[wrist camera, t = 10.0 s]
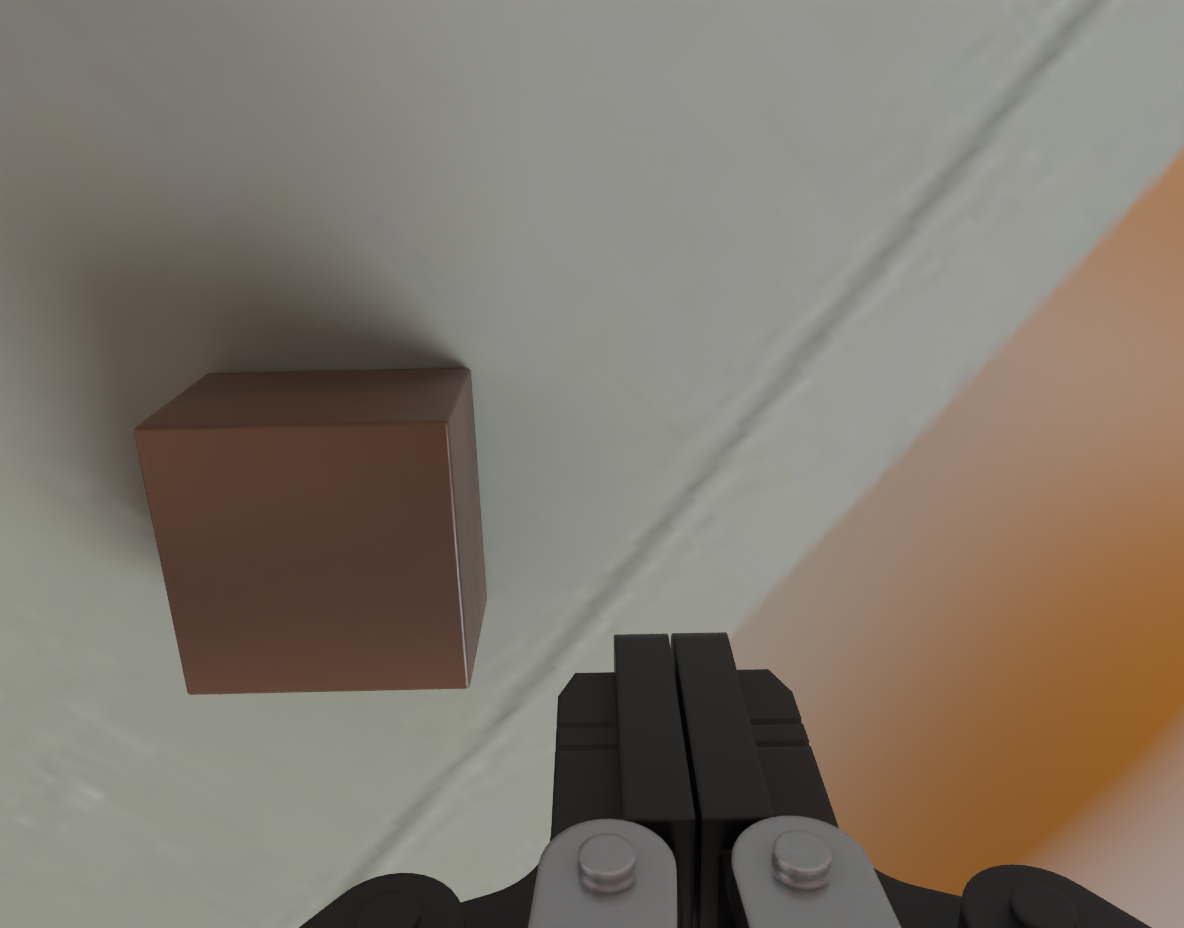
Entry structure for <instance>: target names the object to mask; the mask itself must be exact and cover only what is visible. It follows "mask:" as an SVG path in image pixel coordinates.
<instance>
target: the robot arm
mask: <svg viewBox="0 0 1184 928" xmlns="http://www.w3.org/2000/svg"><path fill="white" fill-rule="evenodd" d="M299 928H1151V927H1149V926H1148V925H1146V924H1144V923H1143V922H1141V921H1139V920H1137V919H1136V918H1134V917H1133V916H1131V915H1129V914H1128V913H1126V912H1124V911H1123V910H1121V909H1119V908H1117V907H1116V906H1114V905H1112V904H1111V903H1109V902H1107V901H1106V900H1104V899H1102V898H1101V897H1099V896H1097V895H1096V894H1094V893H1092V892H1090V891H1089V890H1087V889H1086V888H1084V887H1082V886H1081V885H1079V884H1077V883H1075V882H1073V881H1071V880H1069V879H1068V878H1066V877H1063V876H1061V875H1058V874H1056V873H1054V872H1050V871H1047V870H1044V869H1041V868H1036V867H1031V866H1025V865H1000V866H996V867H991V868H988V869H986V870H983V871H981V872H979V873H978V874H976V875H975V876H973V877H972V878H971V880H970V881H969V882H968V883H967V885H966V887H965V889H964V891H963V895H962V897H961V896H957V895H952V894H948V893H944V892H939V891H935V890H931V889H926V888H922V887H918V886H914V885H911V884H907V883H904V882H901V881H899V880H896V879H894V878H891V877H889V876H887V875H885V874H883V873H881V872H879V871H877V870H876V869H875V868H873V866H872V864H871V862H870V860H869V858H868V856H867V855H866V853H865V852H864V850H863V849H862V847H861V846H860V845H859V844H858V843H857V842H856V841H855V840H854V839H853V838H852V837H851V836H849V835H848V834H846V833H845V832H843V831H842V830H840V829H839V827H838V825H837V821H836V818H835V816H834V813H833V810H832V807H831V804H830V801H829V798H828V795H827V792H826V789H825V786H824V784H823V781H822V778H821V775H820V772H819V769H818V766H817V763H816V760H815V757H814V755H813V752H812V749H811V746H809V740H808V737H807V734H806V731H805V729H804V725H803V724H802V723H801V716H800V714H799V711H798V708H797V705H796V702H795V699H794V696H793V693H792V691H791V690H789V689H788V688H787V687H786V686H785V685H784V684H783V683H782V682H781V681H780V680H779V679H778V678H777V677H776V676H775V675H774V674H773V673H772V672H771V671H769V670H768V669H762V670H736V666H735V662H734V658H733V654H732V650H731V647H730V642H729V639H728V635H727V633H673V634H672V635H671V650H670V643H669V637H668V634H629V635H614V672H611V673H575V674H574V676H573V677H572V678H571V680H570V681H569V683H568V684H567V685H566V687H565V688H564V689H563V691H562V692H561V693H560V695H559V696H558V711H557V730H556V751H555V768H554V788H553V807H552V826H551V838H550V843H549V844H548V845H547V846H546V848H545V849H544V851H543V853H542V855H541V858H540V861H539V864H538V865H537V866H536V867H535V868H534V870H532V871H531V872H530V873H529V874H528V875H527V876H526V877H524V878H523V879H521V880H520V881H518V882H517V883H515V884H513V885H511V886H509V887H507V888H505V889H503V890H500V891H498V892H495V893H492V894H489V895H485V896H482V897H479V898H475V899H472V900H468V901H465V902H461V903H460V901H459V899H458V897H457V896H456V895H455V894H454V892H453V891H452V890H451V889H450V888H449V887H447V886H446V885H445V884H444V883H442V882H440V881H438V880H436V879H434V878H431V877H428V876H425V875H419V874H413V873H397V874H388V875H384V876H379V877H375V878H373V879H370V880H367V881H364V882H362V883H360V884H358V885H356V886H354V887H353V888H351V889H350V890H348V891H347V892H345V893H344V894H342V895H341V896H340V897H338V898H337V899H336V900H334V901H333V902H332V903H330V904H329V905H328V906H327V907H325V908H324V909H323V910H321V911H320V912H319V913H317V914H316V915H315V916H314V917H312V918H311V919H310V920H308V921H307V922H306V923H304V924H303V925H302V926H301V927H299Z"/></svg>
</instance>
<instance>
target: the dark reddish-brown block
mask: <svg viewBox="0 0 1184 928" xmlns="http://www.w3.org/2000/svg"><path fill="white" fill-rule="evenodd" d="M134 436H135V440H136V445H137V450H138V455H139V460H140V465H141V469H142V474H143V479H144V484H145V489H146V494H147V498H148V503H149V508H150V513H151V518H152V523H153V527H154V532H155V537H156V542H157V547H158V552H159V556H160V561H161V566H162V571H163V576H164V581H165V586H166V590H167V595H168V600H169V605H170V610H171V615H172V619H173V624H174V629H175V634H176V639H177V644H178V648H179V653H180V658H181V663H182V668H183V673H184V677H185V682H186V687H187V692H188V694H191V695H196V694H241V693H286V692H330V691H375V690H419V689H464V688H468V687H469V686H470V682H471V677H472V672H473V667H474V662H475V657H476V652H477V647H478V641H479V636H480V631H481V626H482V621H483V616H484V611H485V605H486V600H487V595H486V581H485V567H484V552H483V538H482V524H481V510H480V496H479V481H478V467H477V453H476V439H475V425H474V410H473V396H472V382H471V371H470V369H469V368H437V369H394V370H351V371H308V372H265V373H222V374H207V375H205V376H204V377H202V378H201V379H200V380H198V381H197V382H196V383H194V384H193V385H192V386H190V387H189V388H188V389H186V390H185V391H184V392H182V393H181V394H180V395H178V396H177V397H176V398H174V399H173V400H172V401H170V402H169V403H168V404H166V405H165V406H164V407H162V408H161V409H160V410H158V411H157V412H156V413H154V414H153V415H152V416H150V417H149V418H148V419H146V420H145V421H144V422H142V423H141V424H140V425H138V426H137V427H136V428H135V429H134Z"/></svg>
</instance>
